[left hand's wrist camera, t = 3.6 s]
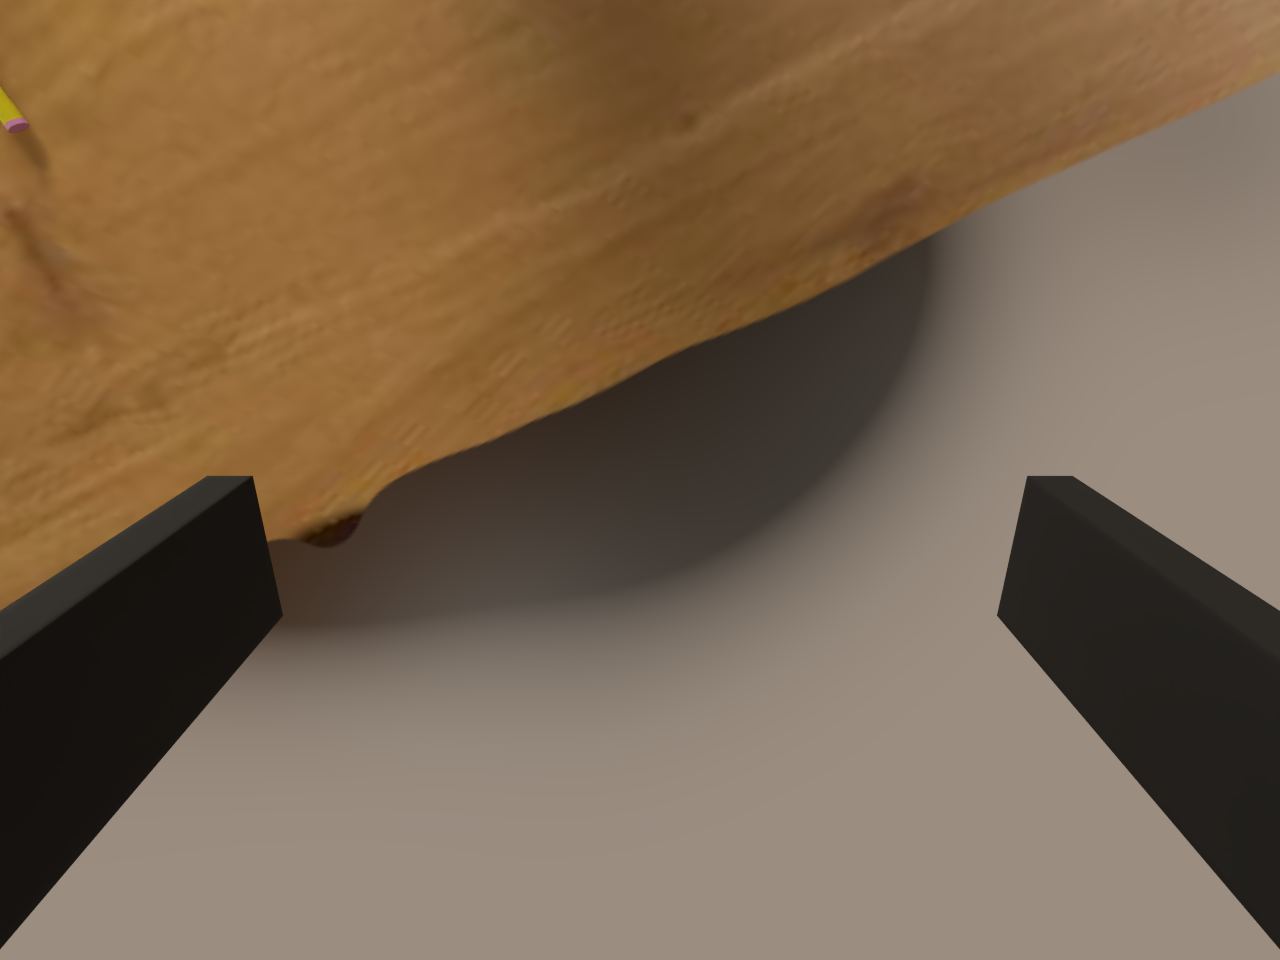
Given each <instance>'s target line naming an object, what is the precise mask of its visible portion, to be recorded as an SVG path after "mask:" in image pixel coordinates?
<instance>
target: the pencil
mask: <svg viewBox="0 0 1280 960" xmlns="http://www.w3.org/2000/svg"><path fill="white" fill-rule="evenodd" d="M0 121H1V122H2V123H3V125H4V126H5V127H6V129H7V130H8V131H9V132H12V133H15V132H20V131H22V130H25V129H26V128H28V126H29V124H28V122H27V121H26V119H25V118H24V117H23V115H22V114H21V113H20V112H19V110H18V109H17V108H16V106H15V105H14V104H13V102H12V101H11V100H10V98H9V97H8V96H7V94H6V93H5V92H4V90H3V89H2V88H1V86H0Z"/></svg>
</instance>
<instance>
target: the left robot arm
mask: <svg viewBox="0 0 1280 960" xmlns="http://www.w3.org/2000/svg"><path fill="white" fill-rule="evenodd" d="M282 616H283V614H282V609H281V605H280V600H279V595H278V591H277V586H276V582H275V577H274V572H273V568H272V563H271V559H270V554H269V549H268V545H267V540H266V535H265V531H264V526H263V522H262V517H261V512H260V508H259V503H258V498H257V494H256V489H255V485H254V480H253V476H207V477H205V478H204V479H202V480H201V481H199V482H197V483H196V484H194V485H193V486H191V487H190V488H188V489H187V490H185V491H184V492H182V493H181V494H179V495H178V496H176V497H174V498H173V499H171V500H170V501H168V502H167V503H165V504H164V505H162V506H161V507H159V508H158V509H156V510H154V511H153V512H151V513H150V514H148V515H147V516H145V517H144V518H142V519H141V520H139V521H138V522H136V523H135V524H133V525H131V526H130V527H128V528H127V529H125V530H124V531H122V532H121V533H119V534H118V535H116V536H115V537H113V538H112V539H110V540H108V541H107V542H105V543H104V544H102V545H101V546H99V547H98V548H96V549H95V550H93V551H92V552H90V553H88V554H87V555H85V556H84V557H82V558H81V559H79V560H78V561H76V562H75V563H73V564H72V565H70V566H69V567H67V568H65V569H64V570H62V571H61V572H59V573H58V574H56V575H55V576H53V577H52V578H50V579H49V580H47V581H45V582H44V583H42V584H41V585H39V586H38V587H36V588H35V589H33V590H32V591H30V592H29V593H27V594H26V595H24V596H22V597H21V598H19V599H18V600H16V601H15V602H13V603H12V604H10V605H9V606H7V607H6V608H4V609H3V610H1V611H0V949H1V948H2V946H3V945H4V944H5V943H6V942H7V941H8V939H9V938H10V937H11V936H12V935H13V933H14V932H15V931H16V930H17V929H18V928H19V926H20V925H21V924H22V923H23V922H24V921H25V919H26V918H27V917H28V916H29V915H30V913H31V912H32V911H33V910H34V909H35V908H36V906H37V905H38V904H39V903H40V902H41V900H42V899H43V898H44V897H45V896H46V894H47V893H48V892H49V891H50V890H51V889H52V887H53V886H54V885H55V884H56V883H57V882H58V880H59V879H60V878H61V877H62V876H63V874H64V873H65V872H66V871H67V870H68V869H69V867H70V866H71V865H72V864H73V863H74V862H75V860H76V859H77V858H78V857H79V856H80V854H81V853H82V852H83V851H84V850H85V848H86V847H87V846H88V845H89V844H90V843H91V841H92V840H93V839H94V838H95V837H96V836H97V834H98V833H99V832H100V831H101V830H102V828H103V827H104V826H105V825H106V824H107V823H108V821H109V820H110V819H111V818H112V817H113V815H114V814H115V813H116V812H117V811H118V810H119V808H120V807H121V806H122V805H123V804H124V803H125V801H126V800H127V799H128V798H129V797H130V795H131V794H132V793H133V792H134V791H135V789H136V788H137V787H138V786H139V785H140V784H141V782H142V781H143V780H144V779H145V778H146V776H147V775H148V774H149V773H150V772H151V771H152V769H153V768H154V767H155V766H156V765H157V763H158V762H159V761H160V760H161V759H162V758H163V756H164V755H165V754H166V753H167V752H168V751H169V749H170V748H171V747H172V746H173V745H174V744H175V742H176V741H177V740H178V739H179V738H180V736H181V735H182V734H183V733H184V732H185V731H186V729H187V728H188V727H189V726H190V725H191V723H192V722H193V721H194V720H195V719H196V718H197V716H198V715H199V714H200V713H201V712H202V710H203V709H204V708H205V707H206V706H207V705H208V703H209V702H210V701H211V700H212V699H213V697H214V696H215V695H216V694H217V693H218V692H219V690H220V689H221V688H222V687H223V686H224V685H225V683H226V682H227V681H228V680H229V679H230V677H231V676H232V675H233V674H234V673H235V672H236V670H237V669H238V668H239V667H240V666H241V664H242V663H243V662H244V661H245V660H246V659H247V657H248V656H249V655H250V654H251V653H252V651H253V650H254V649H255V648H256V647H257V646H258V644H259V643H260V642H261V641H262V640H263V638H264V637H265V636H266V635H267V634H268V633H269V631H270V630H271V629H272V628H273V627H274V625H275V624H276V623H277V622H278V621H279V620H280V618H281V617H282ZM997 616H998V617H999V618H1000V620H1001V621H1002V622H1003V623H1004V624H1005V626H1006V627H1007V628H1008V629H1009V630H1010V631H1011V633H1012V634H1013V635H1014V636H1015V637H1016V638H1017V640H1018V641H1019V642H1020V643H1021V644H1022V646H1023V647H1024V648H1025V649H1026V650H1027V651H1028V653H1029V654H1030V655H1031V656H1032V657H1033V659H1034V660H1035V661H1036V662H1037V663H1038V664H1039V666H1040V667H1041V668H1042V669H1043V670H1044V672H1045V673H1046V674H1047V675H1048V676H1049V677H1050V679H1051V680H1052V681H1053V682H1054V683H1055V684H1056V686H1057V687H1058V688H1059V689H1060V690H1061V692H1062V693H1063V694H1064V695H1065V696H1066V697H1067V699H1068V700H1069V701H1070V702H1071V703H1072V705H1073V706H1074V707H1075V708H1076V709H1077V710H1078V712H1079V713H1080V714H1081V715H1082V716H1083V717H1084V719H1085V720H1086V721H1087V722H1088V723H1089V725H1090V726H1091V727H1092V728H1093V729H1094V730H1095V732H1096V733H1097V734H1098V735H1099V736H1100V738H1101V739H1102V740H1103V741H1104V742H1105V744H1106V745H1107V746H1108V747H1109V748H1110V749H1111V751H1112V752H1113V753H1114V754H1115V755H1116V756H1117V758H1118V759H1119V760H1120V761H1121V762H1122V764H1123V765H1124V766H1125V767H1126V768H1127V769H1128V771H1129V772H1130V773H1131V774H1132V775H1133V777H1134V778H1135V779H1136V780H1137V781H1138V782H1139V784H1140V785H1141V786H1142V787H1143V788H1144V790H1145V791H1146V792H1147V793H1148V794H1149V795H1150V797H1151V798H1152V799H1153V800H1154V801H1155V802H1156V804H1157V805H1158V806H1159V807H1160V808H1161V810H1162V811H1163V812H1164V813H1165V814H1166V815H1167V817H1168V818H1169V819H1170V820H1171V821H1172V823H1173V824H1174V825H1175V826H1176V827H1177V828H1178V830H1179V831H1180V832H1181V833H1182V834H1183V836H1184V837H1185V838H1186V839H1187V840H1188V841H1189V843H1190V844H1191V845H1192V846H1193V847H1194V849H1195V850H1196V851H1197V852H1198V853H1199V854H1200V856H1201V857H1202V858H1203V859H1204V860H1205V862H1206V863H1207V864H1208V865H1209V866H1210V867H1211V869H1212V870H1213V871H1214V872H1215V873H1216V874H1217V876H1218V877H1219V878H1220V879H1221V880H1222V882H1223V883H1224V884H1225V885H1226V886H1227V887H1228V889H1229V890H1230V891H1231V892H1232V893H1233V895H1234V896H1235V897H1236V898H1237V899H1238V900H1239V902H1240V903H1241V904H1242V905H1243V906H1244V908H1245V909H1246V910H1247V911H1248V912H1249V913H1250V915H1251V916H1252V917H1253V918H1254V919H1255V920H1256V922H1257V923H1258V924H1259V925H1260V926H1261V928H1262V929H1263V930H1264V931H1265V932H1266V933H1267V935H1268V936H1269V937H1270V938H1271V939H1272V941H1273V942H1274V943H1275V944H1276V945H1277V946H1278V948H1279V949H1280V611H1279V610H1277V609H1276V608H1274V607H1273V606H1271V605H1270V604H1268V603H1267V602H1265V601H1264V600H1262V599H1260V598H1259V597H1258V596H1256V595H1254V594H1253V593H1251V592H1250V591H1248V590H1247V589H1245V588H1244V587H1242V586H1241V585H1239V584H1238V583H1236V582H1235V581H1233V580H1231V579H1230V578H1228V577H1227V576H1225V575H1224V574H1222V573H1221V572H1219V571H1218V570H1216V569H1215V568H1213V567H1211V566H1210V565H1208V564H1207V563H1205V562H1204V561H1202V560H1201V559H1199V558H1198V557H1196V556H1195V555H1193V554H1192V553H1190V552H1188V551H1187V550H1185V549H1184V548H1182V547H1181V546H1179V545H1178V544H1176V543H1175V542H1173V541H1172V540H1170V539H1168V538H1167V537H1165V536H1164V535H1162V534H1161V533H1159V532H1158V531H1156V530H1155V529H1153V528H1152V527H1150V526H1148V525H1147V524H1145V523H1144V522H1142V521H1141V520H1139V519H1138V518H1136V517H1135V516H1133V515H1132V514H1130V513H1129V512H1127V511H1126V510H1124V509H1122V508H1121V507H1119V506H1118V505H1116V504H1115V503H1113V502H1112V501H1110V500H1109V499H1107V498H1106V497H1104V496H1102V495H1101V494H1099V493H1098V492H1096V491H1095V490H1093V489H1092V488H1090V487H1089V486H1087V485H1086V484H1084V483H1083V482H1081V481H1079V480H1078V479H1076V478H1075V477H1073V476H1027V480H1026V485H1025V489H1024V494H1023V499H1022V503H1021V508H1020V512H1019V517H1018V522H1017V526H1016V531H1015V535H1014V540H1013V545H1012V549H1011V554H1010V558H1009V563H1008V568H1007V572H1006V577H1005V581H1004V586H1003V591H1002V595H1001V600H1000V605H999V609H998V614H997Z"/></svg>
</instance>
